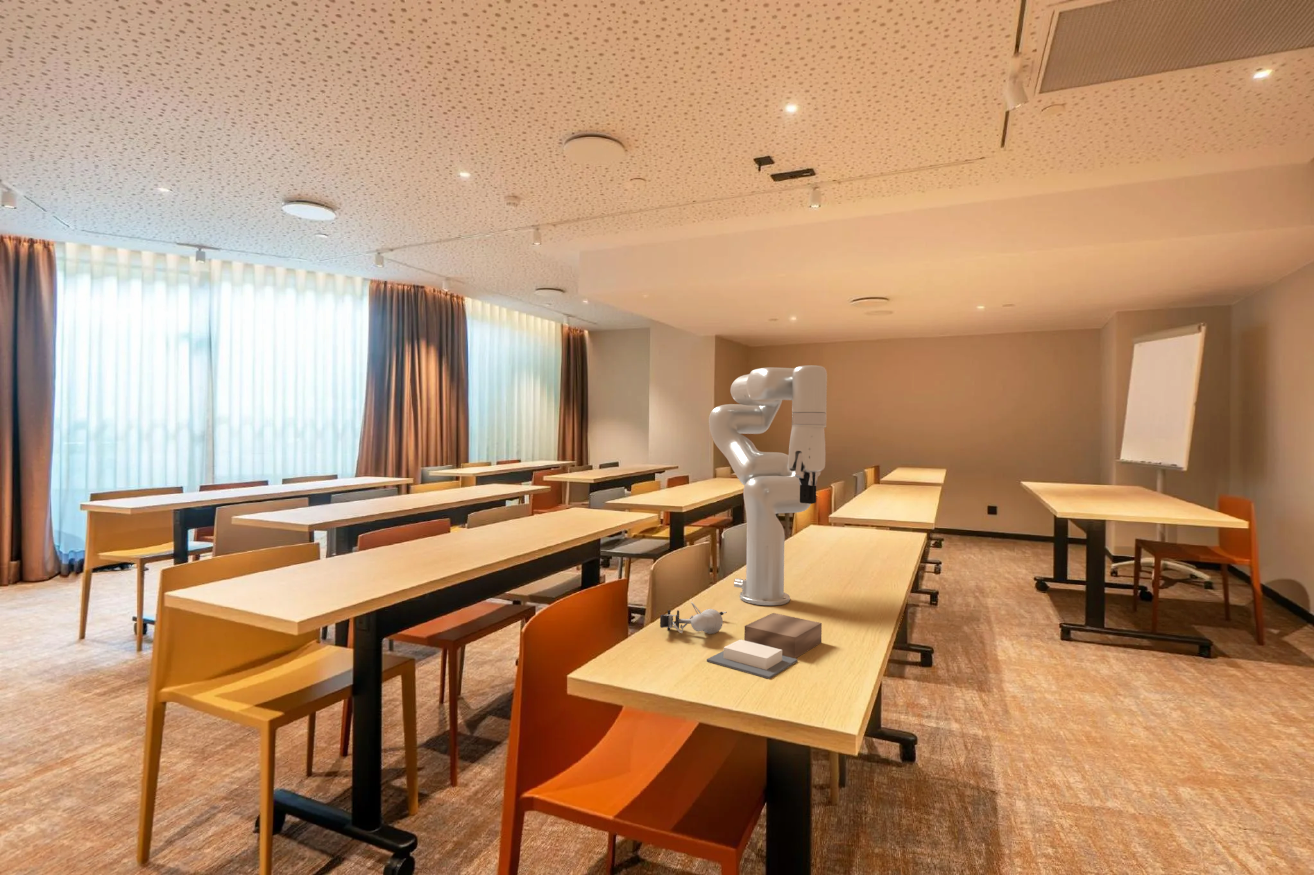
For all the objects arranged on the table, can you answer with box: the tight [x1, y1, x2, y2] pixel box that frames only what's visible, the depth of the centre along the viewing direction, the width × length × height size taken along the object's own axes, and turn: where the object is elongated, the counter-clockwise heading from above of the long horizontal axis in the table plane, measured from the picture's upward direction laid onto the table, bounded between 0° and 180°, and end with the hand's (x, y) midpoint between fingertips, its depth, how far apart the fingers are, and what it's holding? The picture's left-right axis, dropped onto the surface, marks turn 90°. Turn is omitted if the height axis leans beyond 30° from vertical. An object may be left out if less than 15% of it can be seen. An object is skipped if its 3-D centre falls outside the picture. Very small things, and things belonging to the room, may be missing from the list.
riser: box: [743, 612, 823, 659], centre depth 127 cm, size 11×12×4 cm
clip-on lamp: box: [659, 601, 727, 635], centre depth 135 cm, size 12×6×18 cm
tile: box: [723, 639, 782, 670], centre depth 117 cm, size 9×6×2 cm, turn 51°
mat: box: [706, 650, 798, 680], centre depth 117 cm, size 13×11×1 cm
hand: (807, 502), depth 140 cm, fingers closed
